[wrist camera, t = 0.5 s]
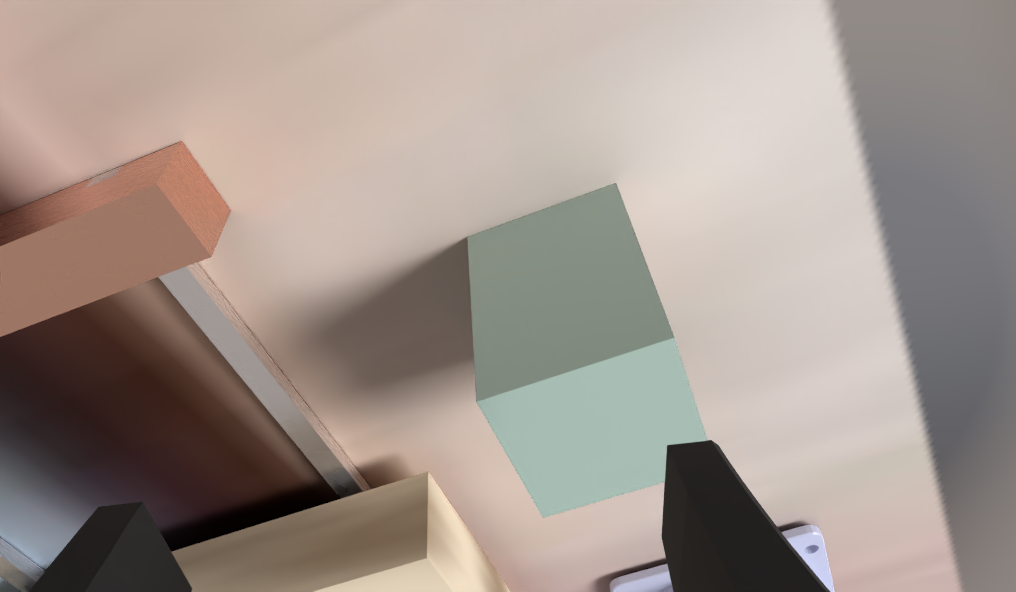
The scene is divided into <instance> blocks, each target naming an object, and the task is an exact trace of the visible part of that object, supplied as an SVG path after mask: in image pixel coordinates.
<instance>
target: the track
mask: <svg viewBox="0 0 1016 592" xmlns="http://www.w3.org/2000/svg"><path fill="white" fill-rule="evenodd" d="M229 214H230V209H229V208H228V206H227V205H226V204H225V202H224V201H223V199H222V198H221V196H220V195H219V194H218V192H217V191H216V189H215V188H214V186H213V185H212V184H211V182H210V181H209V179H208V178H207V176H206V175H205V174H204V172H203V171H202V169H201V168H200V167H199V165H198V164H197V162H196V161H195V159H194V158H193V157H192V155H191V154H190V152H189V151H188V149H187V148H186V147H185V145H184V144H183V142H182V141H181V142H179V143H177V144H174V145H172V146H169V147H167V148H164V149H162V150H159V151H157V152H154V153H152V154H150V155H147V156H145V157H142V158H140V159H137V160H135V161H132V162H130V163H128V164H125V165H123V166H120V167H118V168H115V169H113V170H110V171H108V172H106V173H103V174H101V175H98V176H96V177H93V178H91V179H88V180H86V181H84V182H81V183H79V184H76V185H74V186H71V187H69V188H66V189H64V190H61V191H59V192H57V193H54V194H52V195H49V196H47V197H44V198H42V199H39V200H37V201H35V202H32V203H30V204H27V205H25V206H22V207H20V208H17V209H15V210H13V211H10V212H8V213H5V214H3V215H0V337H1V336H4V335H6V334H9V333H12V332H14V331H17V330H20V329H22V328H25V327H27V326H30V325H33V324H35V323H38V322H41V321H43V320H46V319H49V318H51V317H54V316H56V315H59V314H62V313H64V312H67V311H70V310H72V309H75V308H78V307H80V306H83V305H86V304H88V303H91V302H93V301H96V300H99V299H101V298H104V297H107V296H109V295H112V294H115V293H117V292H120V291H123V290H125V289H128V288H130V287H133V286H136V285H138V284H141V283H144V282H146V281H149V280H152V279H154V278H157V277H159V279H160V280H161V281H162V282H163V283H164V285H165V286H166V287H167V288H168V289H169V291H170V292H171V293H172V294H173V296H174V297H175V298H176V299H177V300H178V302H179V303H180V304H181V305H182V306H183V308H184V309H185V310H186V311H187V313H188V314H189V315H190V316H191V317H192V319H193V320H194V321H195V322H196V323H197V325H198V326H199V327H200V328H201V330H202V331H203V332H204V333H205V334H206V336H207V337H208V338H209V339H210V340H211V342H212V343H213V344H214V345H215V347H216V348H217V349H218V350H219V351H220V353H221V354H222V355H223V356H224V357H225V359H226V360H227V361H228V362H229V364H230V365H231V366H232V367H233V368H234V370H235V371H236V372H237V373H238V375H239V376H240V377H241V378H242V379H243V381H244V382H245V383H246V384H247V385H248V387H249V388H250V389H251V390H252V392H253V393H254V394H255V395H256V396H257V398H258V399H259V400H260V401H261V402H262V404H263V405H264V406H265V407H266V409H267V410H268V411H269V412H270V413H271V415H272V416H273V417H274V418H275V419H276V421H277V422H278V423H279V424H280V426H281V427H282V428H283V429H284V430H285V432H286V433H287V434H288V435H289V436H290V438H291V439H292V440H293V441H294V443H295V444H296V445H297V446H298V447H299V449H300V450H301V451H302V452H303V454H304V455H305V456H306V457H307V458H308V460H309V461H310V462H311V463H312V464H313V466H314V467H315V468H316V469H317V471H318V472H319V473H320V474H321V475H322V477H323V478H324V479H325V480H326V481H327V483H328V484H329V485H330V486H331V488H332V489H333V490H334V491H335V492H336V494H337V495H338V496H339V497H340V498H341V499H342V498H345V497H348V496H351V495H355V494H358V493H361V492H364V491H367V490H371V489H372V488H371V487H370V486H369V485H368V483H367V482H366V481H365V479H364V478H363V477H362V476H361V474H360V473H359V472H358V470H357V469H356V468H355V466H354V465H353V464H352V463H351V461H350V460H349V459H348V457H347V456H346V455H345V454H344V452H343V451H342V450H341V448H340V447H339V446H338V444H337V443H336V442H335V441H334V439H333V438H332V437H331V435H330V434H329V433H328V432H327V430H326V429H325V428H324V426H323V425H322V424H321V422H320V421H319V420H318V419H317V417H316V416H315V415H314V413H313V412H312V411H311V410H310V408H309V407H308V406H307V404H306V403H305V402H304V400H303V399H302V398H301V397H300V395H299V394H298V393H297V391H296V390H295V389H294V388H293V386H292V385H291V384H290V382H289V381H288V380H287V378H286V377H285V376H284V375H283V373H282V372H281V371H280V369H279V368H278V367H277V366H276V364H275V363H274V362H273V360H272V359H271V358H270V356H269V355H268V354H267V353H266V351H265V350H264V349H263V347H262V346H261V345H260V344H259V342H258V341H257V340H256V338H255V337H254V336H253V334H252V333H251V332H250V331H249V329H248V328H247V327H246V325H245V324H244V323H243V322H242V320H241V319H240V318H239V316H238V315H237V314H236V312H235V311H234V310H233V309H232V307H231V306H230V305H229V303H228V302H227V301H226V300H225V298H224V297H223V296H222V294H221V293H220V292H219V290H218V289H217V288H216V287H215V285H214V284H213V283H212V281H211V280H210V279H209V278H208V276H207V275H206V274H205V272H204V271H203V270H202V268H201V267H200V266H199V265H198V263H197V262H199V261H202V260H204V259H207V258H210V257H212V255H213V252H214V250H215V247H216V245H217V243H218V240H219V238H220V235H221V233H222V231H223V228H224V226H225V223H226V221H227V219H228V216H229ZM44 572H45V571H44V570H43V569H42V568H40V567H39V566H38V565H36V564H35V563H34V562H32V561H31V560H30V559H28V558H27V557H26V556H24V555H23V554H22V553H20V552H19V551H18V550H16V549H15V548H14V547H12V546H11V545H10V544H8V543H7V542H6V541H4V540H3V539H2V538H0V577H2V578H3V579H4V580H6V581H7V582H9V583H10V584H11V585H13V586H14V587H16V588H17V589H18V590H20V591H21V592H29V590H30V589H31V588H32V587H33V586H34V584H35V583H36V582H37V581H38V579H39V578H40V577H41V576H42V575H43V573H44Z"/></svg>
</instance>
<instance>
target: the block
mask: <svg viewBox="0 0 1016 592" xmlns="http://www.w3.org/2000/svg"><path fill="white" fill-rule="evenodd" d="M467 241H468V259H469V277H470V295H471V314H472V332H473V350H474V368H475V386H476V402H477V404H478V406H479V407H480V409H481V411H482V413H483V414H484V416H485V418H486V419H487V421H488V423H489V425H490V426H491V428H492V430H493V432H494V433H495V435H496V437H497V439H498V440H499V442H500V444H501V446H502V447H503V449H504V451H505V452H506V454H507V456H508V458H509V459H510V461H511V463H512V465H513V466H514V468H515V470H516V472H517V473H518V475H519V477H520V479H521V480H522V482H523V484H524V485H525V487H526V489H527V491H528V492H529V494H530V496H531V498H532V499H533V501H534V503H535V505H536V506H537V508H538V510H539V511H540V513H541V515H542V517H543V518H544V517H547V516H551V515H554V514H558V513H561V512H564V511H568V510H571V509H575V508H578V507H581V506H585V505H588V504H591V503H595V502H598V501H602V500H605V499H608V498H612V497H615V496H619V495H622V494H625V493H629V492H632V491H636V490H639V489H642V488H646V487H649V486H653V485H656V484H659V483H663V482H665V471H666V454H667V445H672V444H681V443H691V442H700V441H708V440H707V437H706V433H705V430H704V427H703V424H702V421H701V418H700V415H699V412H698V409H697V406H696V403H695V400H694V397H693V393H692V390H691V387H690V384H689V381H688V378H687V375H686V372H685V369H684V366H683V363H682V360H681V356H680V353H679V350H678V347H677V344H676V341H675V338H674V335H673V333H672V330H671V327H670V325H669V322H668V319H667V317H666V314H665V311H664V309H663V306H662V303H661V301H660V298H659V295H658V293H657V290H656V287H655V285H654V282H653V280H652V277H651V274H650V272H649V269H648V266H647V264H646V261H645V258H644V256H643V253H642V250H641V248H640V245H639V242H638V240H637V237H636V234H635V232H634V229H633V226H632V224H631V221H630V219H629V216H628V213H627V211H626V208H625V205H624V203H623V200H622V197H621V195H620V192H619V189H618V187H617V184H616V183H615V184H612V185H609V186H606V187H604V188H601V189H598V190H595V191H593V192H590V193H587V194H584V195H581V196H579V197H576V198H573V199H570V200H568V201H565V202H562V203H559V204H557V205H554V206H551V207H548V208H546V209H543V210H540V211H537V212H534V213H532V214H529V215H526V216H523V217H521V218H518V219H515V220H512V221H510V222H507V223H504V224H501V225H499V226H496V227H493V228H490V229H487V230H485V231H482V232H479V233H476V234H474V235H471V236H468V237H467Z"/></svg>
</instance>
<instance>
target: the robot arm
mask: <svg viewBox="0 0 1016 592" xmlns="http://www.w3.org/2000/svg"><path fill="white" fill-rule="evenodd" d="M662 541H663V546H664V550H665V555H666V560H667V564H664V565H660V566H656V567H653V568H649V569H646V570H642V571H638V572H635V573H631V574H628V575H624V576H620V577H617V578H615V579H614V580H612V581H611V582H610V584H609V587H610V592H835V591H834V586H833V581H832V577H831V572H830V567H829V562H828V558H827V553H826V548H825V543H824V539H823V535H822V533H821V531H820V529H819V528H818V527H817V526H814V525H805V526H801V527H797V528H794V529H790V530H786V531H783V532H781V531H780V530H779V529H778V527H777V526H776V525H775V524H774V522H773V521H772V520H771V518H770V517H769V516H768V514H767V513H766V512H765V510H764V509H763V508H762V507H761V505H760V504H759V503H758V501H757V500H756V499H755V497H754V496H753V494H752V493H751V492H750V490H749V489H748V488H747V486H746V485H745V483H744V482H743V481H742V479H741V478H740V476H739V475H738V474H737V472H736V471H735V469H734V468H733V466H732V465H731V463H730V462H729V461H728V459H727V458H726V456H725V455H724V453H723V452H722V450H721V448H720V447H719V445H717V444H716V443H714V442H713V441H712V440H709V441H700V442H691V443H681V444H672V445H667V454H666V471H665V488H664V506H663V523H662ZM29 592H192V587H191V585H190V584H189V582H188V580H187V578H186V577H185V575H184V573H183V571H182V570H181V568H180V566H179V564H178V563H177V561H176V559H175V557H174V556H173V554H172V552H171V550H170V549H169V547H168V545H167V543H166V542H165V540H164V538H163V536H162V535H161V533H160V531H159V529H158V528H157V526H156V524H155V522H154V521H153V519H152V517H151V515H150V514H149V512H148V510H147V508H146V507H145V505H144V503H143V502H139V503H130V504H121V505H111V506H102V507H98V508H97V509H96V511H95V512H94V513H93V514H92V515H91V517H90V518H89V519H88V520H87V521H86V522H85V524H84V525H83V526H82V527H81V528H80V530H79V531H78V532H77V533H76V535H75V536H74V537H73V538H72V539H71V541H70V542H69V543H68V544H67V545H66V547H65V548H64V549H63V550H62V551H61V553H60V554H59V555H58V556H57V558H56V559H55V560H54V561H53V562H52V564H51V565H50V566H49V567H48V568H47V570H46V571H45V572H44V573H43V575H42V576H41V577H40V578H39V579H38V581H37V582H36V583H35V584H34V586H33V587H32V588H31V589H30V590H29Z"/></svg>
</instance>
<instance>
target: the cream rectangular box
mask: <svg viewBox="0 0 1016 592" xmlns="http://www.w3.org/2000/svg"><path fill="white" fill-rule="evenodd" d="M172 554H173V556H174V557H175V559H176V561H177V563H178V564H179V566H180V568H181V570H182V571H183V573H184V575H185V577H186V578H187V580H188V582H189V584H190V585H191V587H192V592H511V591H510V590H509V589H508V587H507V586H506V584H505V583H504V581H503V580H502V578H501V577H500V575H499V574H498V573H497V571H496V570H495V568H494V567H493V565H492V564H491V562H490V561H489V559H488V558H487V556H486V555H485V554H484V552H483V551H482V549H481V548H480V546H479V545H478V543H477V542H476V540H475V539H474V538H473V536H472V535H471V533H470V532H469V530H468V529H467V527H466V526H465V524H464V523H463V521H462V520H461V519H460V517H459V516H458V514H457V513H456V511H455V510H454V508H453V507H452V505H451V504H450V503H449V501H448V500H447V498H446V497H445V495H444V494H443V492H442V491H441V489H440V488H439V486H438V485H437V484H436V482H435V481H434V479H433V478H432V476H431V475H430V473H429V472H425V473H422V474H419V475H416V476H412V477H409V478H406V479H403V480H399V481H396V482H393V483H390V484H387V485H383V486H380V487H377V488H374V489H371V490H367V491H364V492H361V493H358V494H355V495H351V496H348V497H345V498H342V499H339V500H335V501H332V502H329V503H326V504H323V505H319V506H316V507H313V508H310V509H307V510H303V511H300V512H297V513H294V514H291V515H287V516H284V517H281V518H278V519H275V520H271V521H268V522H265V523H262V524H259V525H255V526H252V527H249V528H246V529H243V530H239V531H236V532H233V533H230V534H227V535H223V536H220V537H217V538H214V539H211V540H207V541H204V542H201V543H198V544H195V545H191V546H188V547H185V548H182V549H179V550H175V551H172Z"/></svg>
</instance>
